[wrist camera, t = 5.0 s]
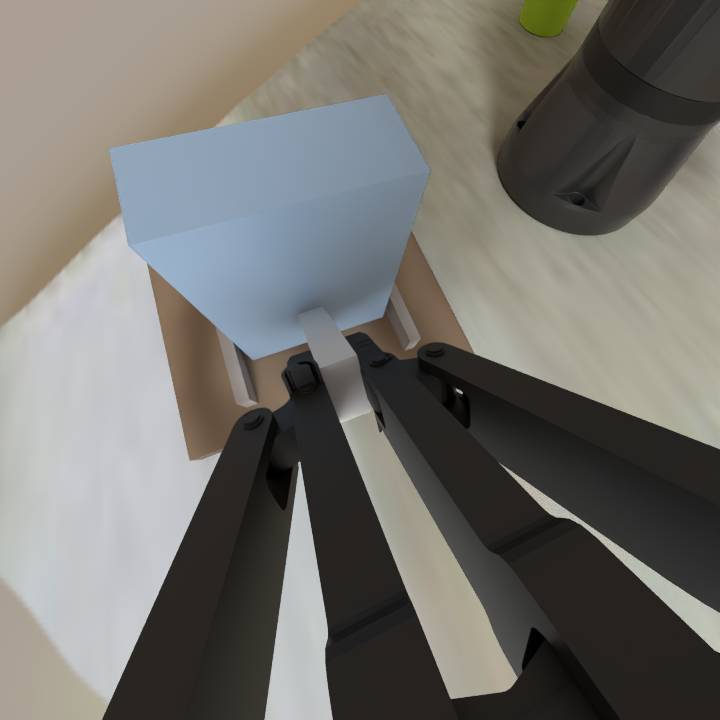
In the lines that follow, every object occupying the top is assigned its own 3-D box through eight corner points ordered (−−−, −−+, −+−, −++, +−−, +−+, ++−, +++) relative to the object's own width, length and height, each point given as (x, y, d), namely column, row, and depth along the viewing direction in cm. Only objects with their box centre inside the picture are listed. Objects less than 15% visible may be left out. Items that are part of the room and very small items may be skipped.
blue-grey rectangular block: (363, 273, 22) (386, 93, 11) (382, 317, 21) (430, 169, 10) (238, 311, 21) (109, 148, 9) (253, 360, 20) (128, 245, 8)
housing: (389, 207, 26) (398, 161, 22) (465, 358, 23) (495, 339, 18) (158, 269, 23) (116, 229, 19) (201, 459, 19) (160, 464, 15)
